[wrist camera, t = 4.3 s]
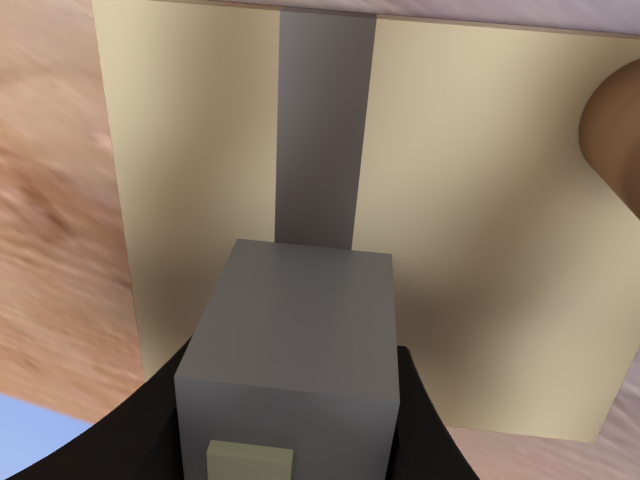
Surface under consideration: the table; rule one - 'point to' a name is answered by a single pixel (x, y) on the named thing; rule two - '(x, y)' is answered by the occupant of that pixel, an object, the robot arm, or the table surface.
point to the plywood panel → (385, 188)
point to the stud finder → (292, 368)
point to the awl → (615, 134)
